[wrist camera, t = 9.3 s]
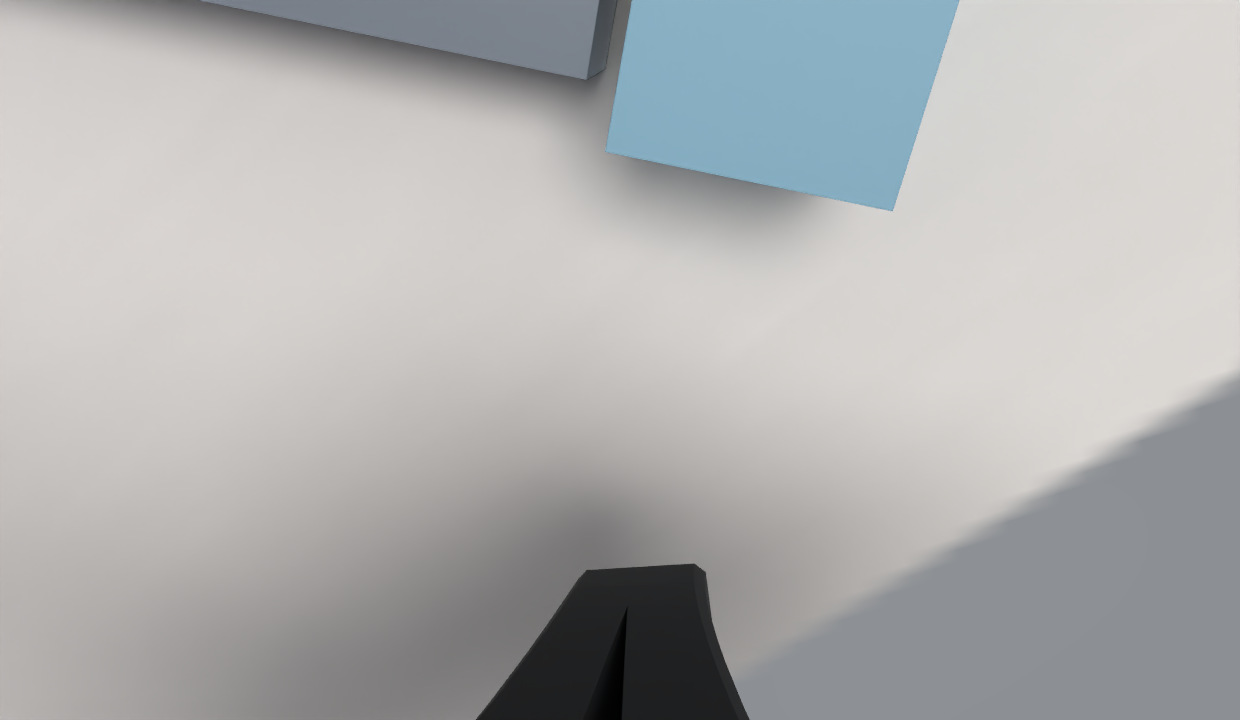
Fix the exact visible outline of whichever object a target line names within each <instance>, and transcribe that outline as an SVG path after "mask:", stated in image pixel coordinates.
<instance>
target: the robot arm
mask: <svg viewBox="0 0 1240 720" xmlns="http://www.w3.org/2000/svg"><path fill="white" fill-rule="evenodd" d="M476 720H749V717H748V716H747V713H746V711H745V709H744V707H743V704H742V702H741V699H740V697H739V694H738V692H737V690H736V687H735V685H734V682H733V680H732V677H731V675H730V673H729V670H728V668H727V665H726V663H725V660H724V657H723V654H722V652H721V649H720V646H719V643H718V640H717V636H716V633H715V630H714V626H713V623H712V618H711V610H710V602H709V595H708V587H707V579H706V572H705V571H703V570H702V569H701V568H699V567H698V566H697V565H696V564H681V565H664V566H648V567H632V568H615V569H599V570H586V571H585V573H584V574H583V575H582V576H581V577H580V578H579V579H578V581H577V582H576V583H575V585H574V586H573V588H572V589H571V591H570V592H569V594H568V595H567V597H566V598H565V600H564V601H563V602H562V604H561V605H560V607H559V608H558V610H557V611H556V613H555V614H554V616H553V617H552V619H551V620H550V621H549V623H548V624H547V626H546V627H545V629H544V630H543V631H542V633H541V634H540V636H539V637H538V638H537V640H536V641H535V643H534V644H533V645H532V647H531V648H530V650H529V651H528V652H527V654H526V655H525V656H524V658H523V659H522V660H521V662H520V663H519V664H518V666H517V667H516V668H515V670H514V671H513V672H512V674H511V675H510V676H509V678H508V679H507V680H506V682H505V683H504V684H503V686H502V687H501V688H500V689H499V691H498V692H497V693H496V695H495V696H494V697H493V699H492V700H491V701H490V703H489V704H488V705H487V706H486V708H485V709H484V710H483V711H482V713H481V714H480V715H479V716H478V718H477V719H476Z"/></svg>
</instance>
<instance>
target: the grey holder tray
mask: <svg viewBox="0 0 1240 720" xmlns="http://www.w3.org/2000/svg"><path fill="white" fill-rule="evenodd" d="M199 1H204V2H209V3H214V4H219V5H224V6H229V7H233V8H238V9H243V10H248V11H253V12H258V13H263V14H267V15H272V16H277V17H282V18H287V19H292V20H297V21H302V22H306V23H311V24H316V25H321V26H326V27H331V28H336V29H341V30H345V31H350V32H355V33H360V34H365V35H370V36H375V37H380V38H384V39H389V40H394V41H399V42H404V43H409V44H414V45H419V46H423V47H428V48H433V49H438V50H443V51H448V52H453V53H458V54H462V55H467V56H472V57H477V58H482V59H487V60H492V61H496V62H501V63H506V64H511V65H516V66H521V67H526V68H531V69H535V70H540V71H545V72H550V73H555V74H560V75H565V76H570V77H574V78H579V79H584V80H587V79H589V78H590V77H592V76H594V75H596V74H597V73H599V72H601V71H602V70H604V69H605V68H606V62H607V56H608V50H609V44H610V38H611V32H612V27H613V21H614V15H615V9H616V3H617V0H199Z"/></svg>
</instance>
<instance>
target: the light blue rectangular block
mask: <svg viewBox="0 0 1240 720" xmlns="http://www.w3.org/2000/svg"><path fill="white" fill-rule="evenodd" d="M958 3H959V0H632V3H631V9H630V14H629V20H628V26H627V31H626V37H625V42H624V48H623V54H622V59H621V65H620V71H619V76H618V82H617V88H616V93H615V99H614V105H613V110H612V116H611V121H610V127H609V133H608V138H607V144H606V150H605V152H608V153H613V154H618V155H623V156H628V157H632V158H637V159H642V160H647V161H652V162H657V163H661V164H666V165H671V166H676V167H681V168H686V169H690V170H695V171H700V172H705V173H710V174H715V175H719V176H724V177H729V178H734V179H739V180H744V181H749V182H753V183H758V184H763V185H768V186H773V187H778V188H782V189H787V190H792V191H797V192H802V193H807V194H811V195H816V196H821V197H826V198H831V199H836V200H840V201H845V202H850V203H855V204H860V205H865V206H870V207H874V208H879V209H884V210H889V211H893V209H894V206H895V202H896V199H897V196H898V193H899V190H900V187H901V184H902V180H903V177H904V174H905V171H906V168H907V165H908V161H909V158H910V155H911V152H912V149H913V146H914V142H915V139H916V136H917V133H918V130H919V127H920V123H921V120H922V117H923V114H924V111H925V108H926V104H927V101H928V98H929V95H930V92H931V89H932V85H933V82H934V79H935V76H936V73H937V70H938V67H939V63H940V60H941V57H942V54H943V51H944V48H945V44H946V41H947V38H948V35H949V32H950V29H951V25H952V22H953V19H954V16H955V13H956V10H957V6H958Z"/></svg>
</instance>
